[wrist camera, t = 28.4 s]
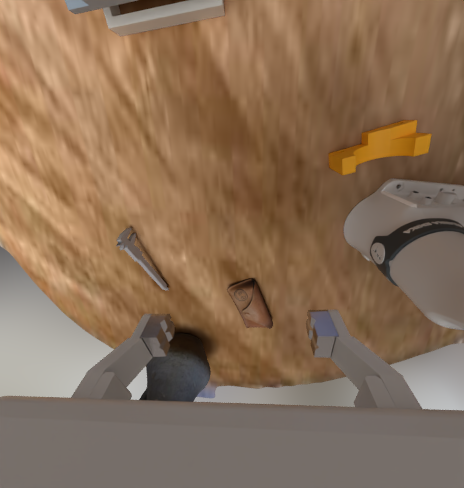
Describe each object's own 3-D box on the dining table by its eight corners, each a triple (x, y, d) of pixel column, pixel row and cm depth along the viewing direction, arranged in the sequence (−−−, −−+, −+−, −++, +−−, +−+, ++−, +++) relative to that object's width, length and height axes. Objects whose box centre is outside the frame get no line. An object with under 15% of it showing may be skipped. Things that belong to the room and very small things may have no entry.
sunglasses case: (224, 289, 54) (239, 300, 48) (243, 273, 56) (259, 281, 51) (246, 329, 62) (261, 342, 57) (262, 313, 65) (277, 324, 59)
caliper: (127, 227, 47) (111, 240, 42) (131, 226, 47) (116, 239, 42) (166, 289, 57) (157, 306, 52) (169, 288, 57) (161, 305, 51)
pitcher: (225, 350, 72) (215, 445, 51) (178, 362, 79) (152, 450, 58) (193, 316, 64) (166, 414, 42) (143, 333, 70) (98, 424, 49)
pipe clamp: (403, 120, 33) (434, 120, 28) (400, 147, 35) (428, 152, 30) (327, 143, 36) (342, 147, 30) (328, 167, 38) (342, 175, 32)
